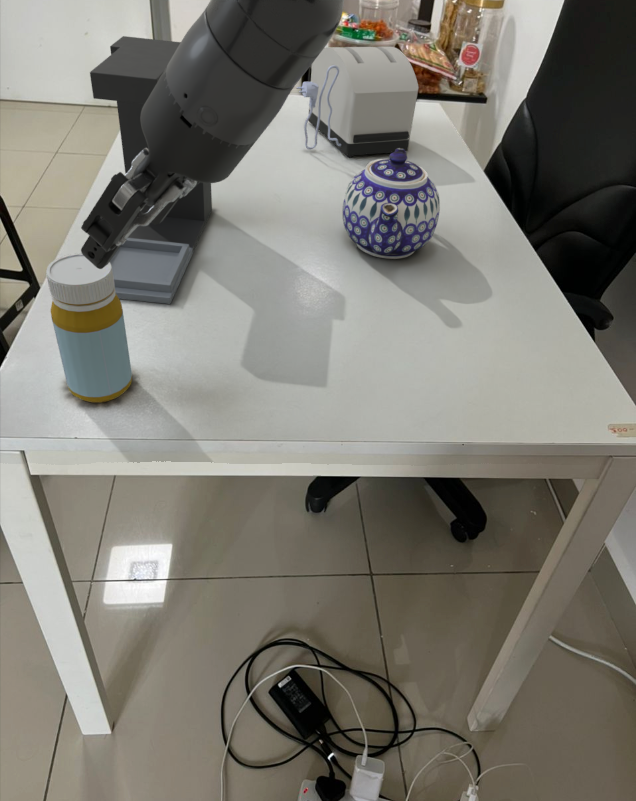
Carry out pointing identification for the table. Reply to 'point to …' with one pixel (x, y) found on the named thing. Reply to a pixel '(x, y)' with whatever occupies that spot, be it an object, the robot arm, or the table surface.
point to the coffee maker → (182, 227)
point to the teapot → (391, 207)
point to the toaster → (362, 99)
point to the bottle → (89, 328)
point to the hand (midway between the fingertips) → (122, 237)
